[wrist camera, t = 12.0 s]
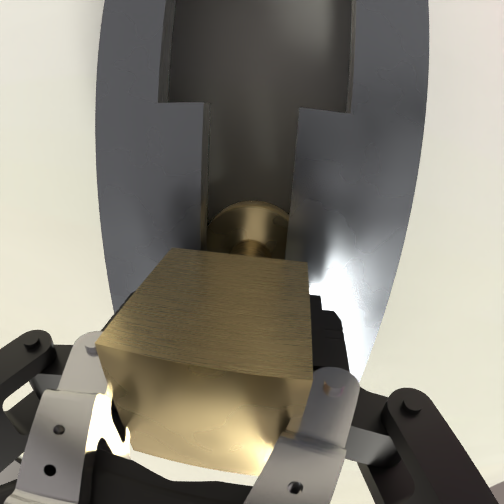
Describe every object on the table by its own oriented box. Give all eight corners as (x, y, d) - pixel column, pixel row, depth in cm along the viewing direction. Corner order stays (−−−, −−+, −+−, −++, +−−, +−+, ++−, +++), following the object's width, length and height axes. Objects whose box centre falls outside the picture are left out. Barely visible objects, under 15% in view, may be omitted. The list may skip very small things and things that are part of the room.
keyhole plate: (156, -50, 10) (123, -81, 6) (394, -42, 9) (419, -76, 5) (151, 322, 19) (126, 364, 16) (345, 346, 18) (353, 396, 15)
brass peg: (310, 206, 15) (332, 370, 5) (297, 297, 17) (291, 482, 7) (205, 196, 15) (80, 328, 6) (205, 286, 17) (126, 451, 8)
